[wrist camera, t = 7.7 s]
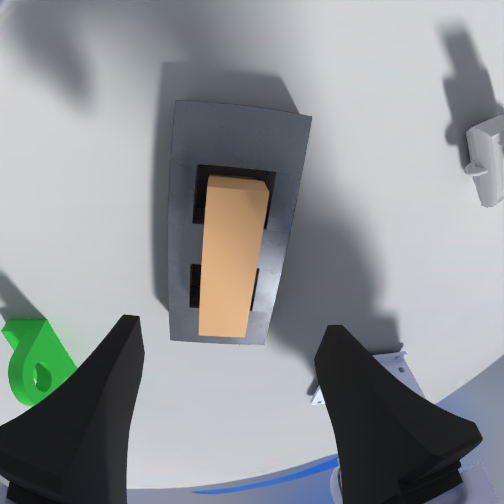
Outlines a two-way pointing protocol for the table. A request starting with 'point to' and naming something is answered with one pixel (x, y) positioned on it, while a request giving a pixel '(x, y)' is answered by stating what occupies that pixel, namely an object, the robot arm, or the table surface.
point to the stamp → (487, 159)
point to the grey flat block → (192, 219)
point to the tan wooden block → (230, 252)
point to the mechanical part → (35, 360)
